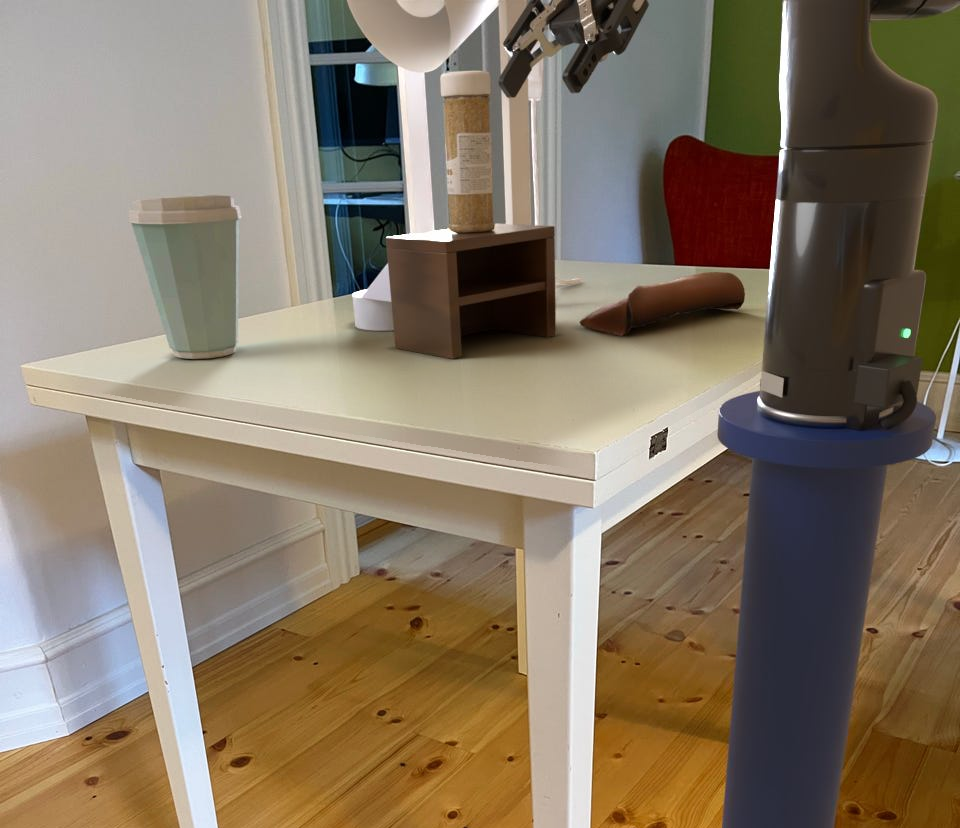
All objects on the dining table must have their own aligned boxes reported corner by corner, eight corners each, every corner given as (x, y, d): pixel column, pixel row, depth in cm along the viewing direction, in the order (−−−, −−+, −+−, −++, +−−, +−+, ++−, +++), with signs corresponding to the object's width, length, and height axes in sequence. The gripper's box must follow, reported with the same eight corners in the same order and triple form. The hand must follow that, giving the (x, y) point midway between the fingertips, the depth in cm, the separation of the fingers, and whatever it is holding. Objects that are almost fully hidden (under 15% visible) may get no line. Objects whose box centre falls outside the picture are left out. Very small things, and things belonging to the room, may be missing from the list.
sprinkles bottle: (447, 230, 98) (438, 74, 91) (493, 228, 98) (487, 71, 92) (450, 234, 93) (441, 71, 87) (498, 232, 94) (492, 68, 88)
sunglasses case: (685, 299, 114) (711, 248, 109) (725, 337, 111) (754, 286, 106) (572, 323, 104) (596, 268, 99) (613, 365, 102) (640, 311, 97)
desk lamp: (338, 312, 121) (287, -149, 100) (511, 277, 141) (499, -112, 120) (460, 327, 108) (431, -200, 87) (632, 286, 128) (641, -149, 107)
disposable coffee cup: (151, 350, 104) (120, 195, 98) (252, 339, 108) (230, 188, 101) (159, 369, 96) (127, 200, 89) (270, 356, 99) (247, 192, 92)
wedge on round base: (475, 324, 109) (400, 313, 118) (471, 259, 106) (395, 253, 115) (412, 337, 104) (339, 325, 113) (407, 270, 101) (332, 263, 109)
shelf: (556, 335, 101) (554, 226, 97) (452, 359, 93) (445, 241, 88) (496, 326, 107) (492, 223, 103) (394, 348, 99) (385, 237, 95)
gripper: (545, -74, 96) (464, 62, 95) (661, -101, 87) (572, 49, 86) (582, -7, 102) (505, 122, 101) (694, -26, 92) (612, 116, 91)
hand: (536, 88), depth 93 cm, fingers open, 8 cm apart
